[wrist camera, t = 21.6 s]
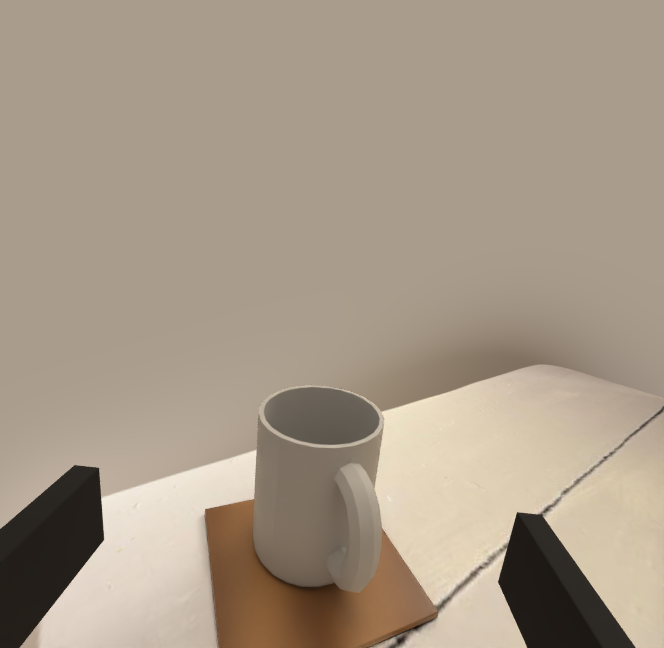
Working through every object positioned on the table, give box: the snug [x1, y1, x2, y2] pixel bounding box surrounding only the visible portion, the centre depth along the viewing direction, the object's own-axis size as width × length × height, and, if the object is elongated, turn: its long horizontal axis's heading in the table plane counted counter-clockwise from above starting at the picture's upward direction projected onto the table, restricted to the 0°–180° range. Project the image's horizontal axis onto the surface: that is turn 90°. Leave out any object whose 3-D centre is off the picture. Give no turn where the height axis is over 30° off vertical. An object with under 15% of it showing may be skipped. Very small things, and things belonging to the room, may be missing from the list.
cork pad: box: [205, 499, 438, 648], centre depth 22 cm, size 11×11×1 cm
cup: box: [253, 385, 384, 593], centre depth 21 cm, size 7×10×9 cm
